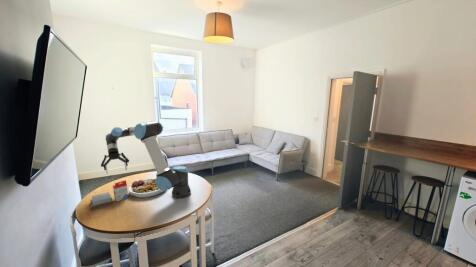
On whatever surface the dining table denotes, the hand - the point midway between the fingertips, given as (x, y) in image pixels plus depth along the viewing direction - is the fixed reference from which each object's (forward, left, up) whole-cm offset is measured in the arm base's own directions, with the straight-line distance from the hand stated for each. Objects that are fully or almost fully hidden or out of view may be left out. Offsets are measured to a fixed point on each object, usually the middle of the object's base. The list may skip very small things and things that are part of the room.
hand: (117, 171), depth 166 cm
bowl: (-9, -21, -20) cm, 30 cm away
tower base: (-11, +13, -20) cm, 26 cm away
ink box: (-11, 0, -19) cm, 22 cm away
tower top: (-11, +13, -17) cm, 24 cm away
